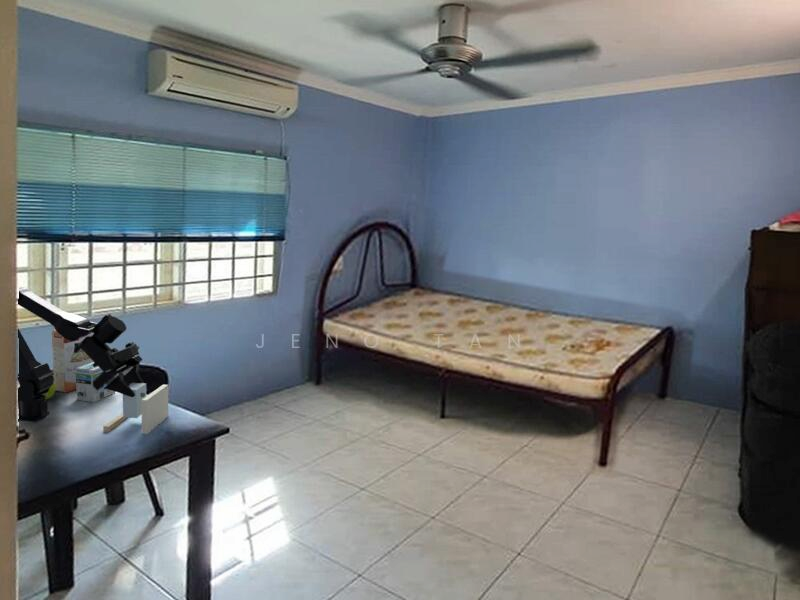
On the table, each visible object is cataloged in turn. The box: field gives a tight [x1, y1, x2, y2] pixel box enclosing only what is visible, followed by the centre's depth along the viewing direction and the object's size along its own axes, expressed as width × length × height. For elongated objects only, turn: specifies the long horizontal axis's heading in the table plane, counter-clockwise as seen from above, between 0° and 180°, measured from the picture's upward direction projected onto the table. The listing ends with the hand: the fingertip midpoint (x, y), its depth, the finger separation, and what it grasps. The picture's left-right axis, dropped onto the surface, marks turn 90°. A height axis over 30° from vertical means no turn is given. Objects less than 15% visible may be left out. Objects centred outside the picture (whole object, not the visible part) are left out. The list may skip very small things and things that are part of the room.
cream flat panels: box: [102, 384, 169, 435], centre depth 166 cm, size 12×14×10 cm
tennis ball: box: [43, 382, 56, 400], centre depth 181 cm, size 7×7×7 cm
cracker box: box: [51, 329, 94, 393], centre depth 194 cm, size 14×6×21 cm, turn 160°
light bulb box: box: [76, 362, 116, 403], centre depth 186 cm, size 11×7×11 cm, turn 168°
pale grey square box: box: [122, 382, 147, 419], centre depth 166 cm, size 5×6×8 cm
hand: (139, 392), depth 166 cm, fingers closed on pale grey square box, 6 cm apart
